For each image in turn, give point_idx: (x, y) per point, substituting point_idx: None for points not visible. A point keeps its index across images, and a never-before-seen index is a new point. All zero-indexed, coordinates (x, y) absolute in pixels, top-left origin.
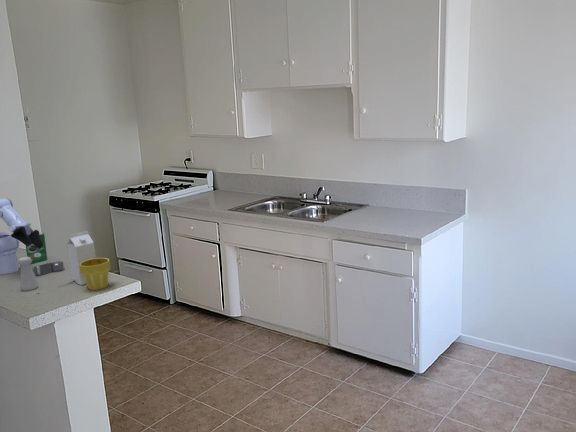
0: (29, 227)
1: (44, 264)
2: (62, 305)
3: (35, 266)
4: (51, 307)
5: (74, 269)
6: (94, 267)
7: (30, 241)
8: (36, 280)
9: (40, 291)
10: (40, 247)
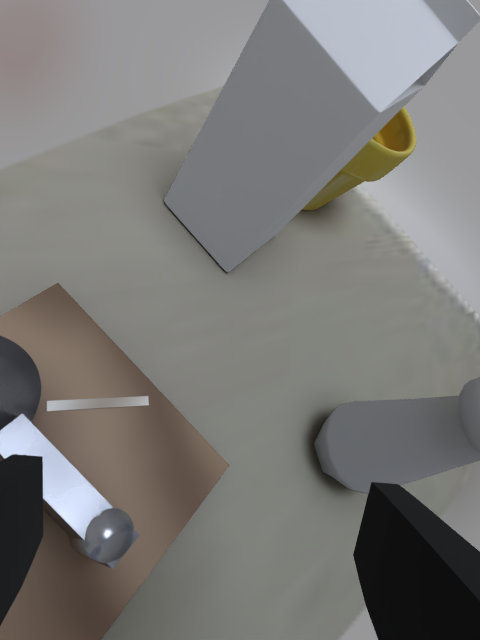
0: None
1: (58, 479)
2: (428, 277)
3: (110, 555)
4: (443, 304)
5: (293, 211)
6: (402, 119)
7: (412, 499)
8: (359, 403)
9: (331, 397)
10: (34, 508)
